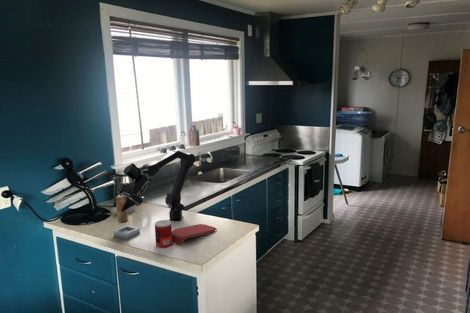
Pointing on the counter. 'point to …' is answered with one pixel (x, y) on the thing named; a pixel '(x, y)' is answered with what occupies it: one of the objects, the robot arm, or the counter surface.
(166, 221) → the canned food
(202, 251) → the counter surface
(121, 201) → the tan round-ended cylinder
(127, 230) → the socket base
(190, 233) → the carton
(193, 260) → the counter surface
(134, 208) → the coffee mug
